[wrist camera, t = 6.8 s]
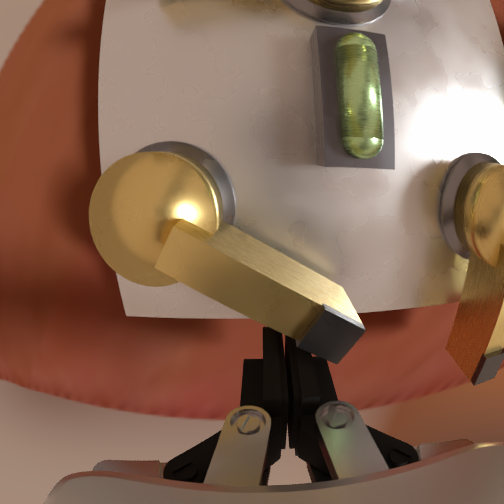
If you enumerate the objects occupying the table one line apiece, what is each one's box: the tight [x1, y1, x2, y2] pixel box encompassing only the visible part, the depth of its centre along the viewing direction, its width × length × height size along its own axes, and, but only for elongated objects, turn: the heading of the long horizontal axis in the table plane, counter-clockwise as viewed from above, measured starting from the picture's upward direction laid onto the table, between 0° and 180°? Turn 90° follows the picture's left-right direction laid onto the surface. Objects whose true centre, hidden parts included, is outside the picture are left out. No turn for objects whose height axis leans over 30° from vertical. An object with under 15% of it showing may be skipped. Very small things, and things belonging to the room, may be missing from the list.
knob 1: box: [89, 152, 366, 364], centre depth 9 cm, size 10×4×3 cm, turn 61°
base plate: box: [98, 0, 504, 318], centre depth 9 cm, size 18×20×4 cm
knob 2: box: [445, 162, 504, 385], centre depth 9 cm, size 10×4×3 cm, turn 2°
